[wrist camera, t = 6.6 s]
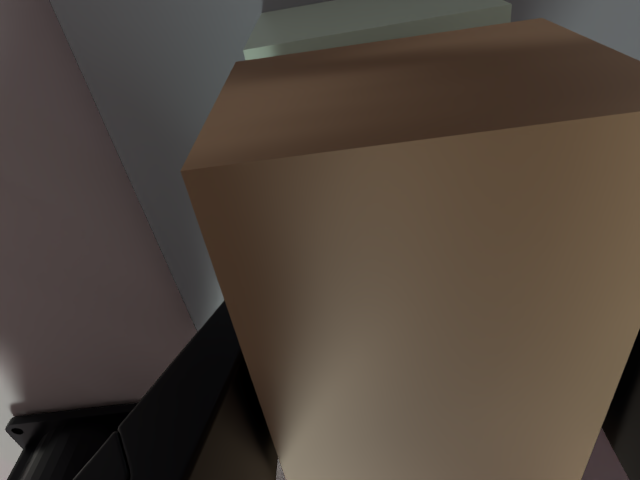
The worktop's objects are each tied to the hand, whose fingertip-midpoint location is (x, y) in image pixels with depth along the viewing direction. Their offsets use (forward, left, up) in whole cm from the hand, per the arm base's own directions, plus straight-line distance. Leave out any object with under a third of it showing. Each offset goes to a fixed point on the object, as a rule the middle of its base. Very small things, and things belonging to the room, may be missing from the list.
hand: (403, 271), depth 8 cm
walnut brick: (0, 0, -1) cm, 1 cm away
